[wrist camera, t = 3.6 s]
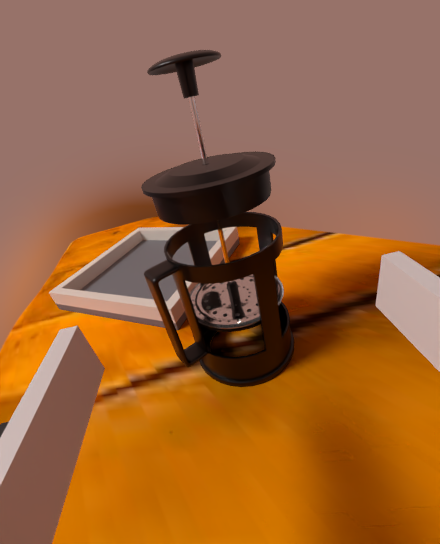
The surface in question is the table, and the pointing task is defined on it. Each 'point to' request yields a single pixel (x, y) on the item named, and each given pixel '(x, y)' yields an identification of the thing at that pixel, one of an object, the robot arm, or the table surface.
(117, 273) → the serving tray
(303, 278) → the table surface
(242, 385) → the french press
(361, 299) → the table surface
